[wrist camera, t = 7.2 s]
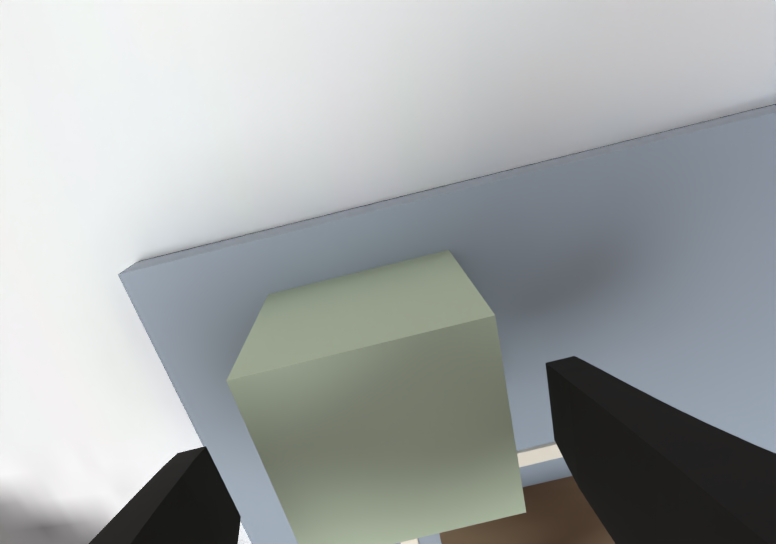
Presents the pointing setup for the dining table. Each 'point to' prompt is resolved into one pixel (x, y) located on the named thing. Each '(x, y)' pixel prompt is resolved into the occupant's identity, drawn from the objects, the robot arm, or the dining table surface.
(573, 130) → the dining table surface
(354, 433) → the sage block
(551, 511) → the walnut block
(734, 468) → the robot arm
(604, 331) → the board
